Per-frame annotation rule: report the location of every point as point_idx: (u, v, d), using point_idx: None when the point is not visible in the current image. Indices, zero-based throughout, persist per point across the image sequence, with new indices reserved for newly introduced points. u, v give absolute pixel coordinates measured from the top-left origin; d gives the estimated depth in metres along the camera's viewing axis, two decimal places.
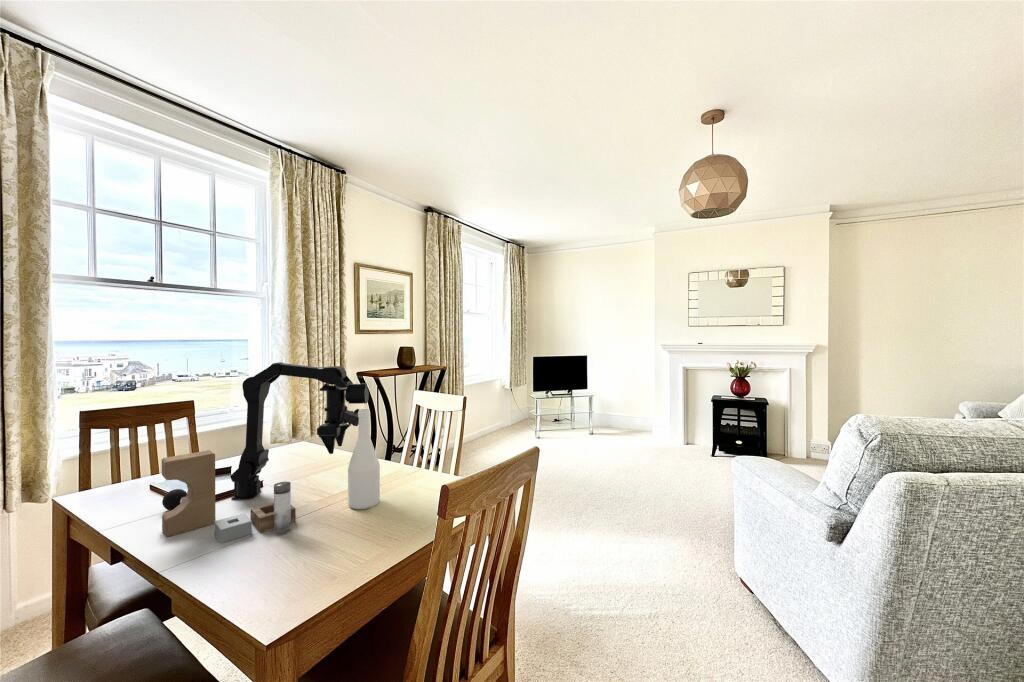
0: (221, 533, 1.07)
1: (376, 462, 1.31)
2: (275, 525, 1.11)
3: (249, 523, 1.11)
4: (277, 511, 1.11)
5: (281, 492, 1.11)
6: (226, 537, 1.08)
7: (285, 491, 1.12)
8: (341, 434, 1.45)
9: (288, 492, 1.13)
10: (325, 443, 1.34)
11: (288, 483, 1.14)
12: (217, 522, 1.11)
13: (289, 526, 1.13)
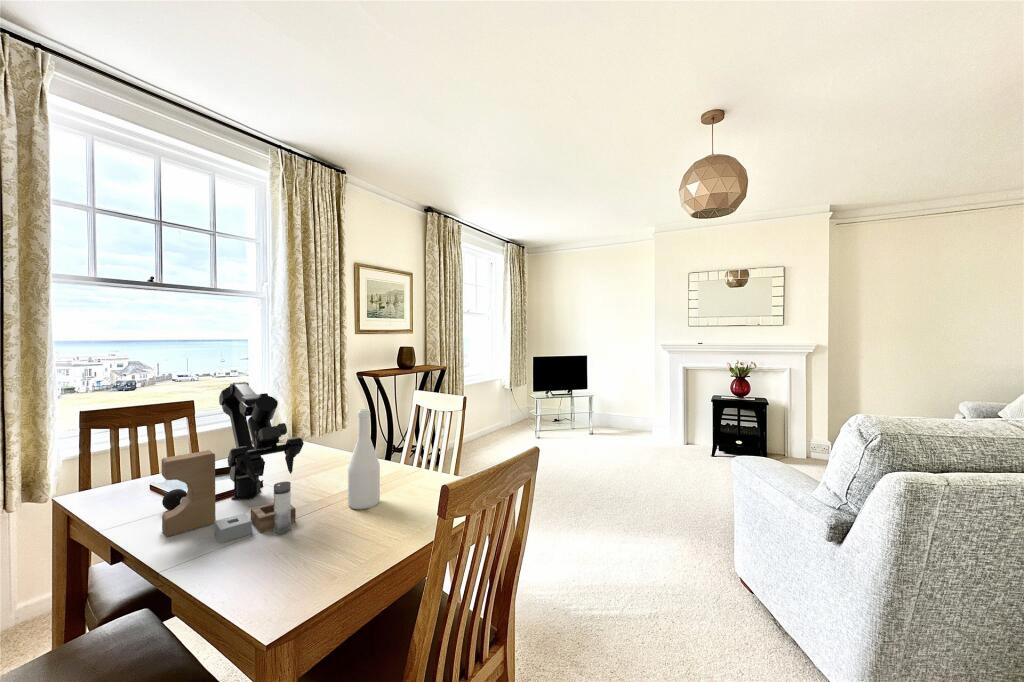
0: (221, 533, 1.07)
1: (376, 462, 1.31)
2: (275, 525, 1.11)
3: (249, 523, 1.11)
4: (277, 511, 1.11)
5: (281, 492, 1.11)
6: (226, 537, 1.08)
7: (285, 491, 1.12)
8: (288, 459, 1.23)
9: (288, 492, 1.13)
10: (246, 472, 1.16)
11: (288, 483, 1.14)
12: (217, 522, 1.11)
13: (289, 526, 1.13)
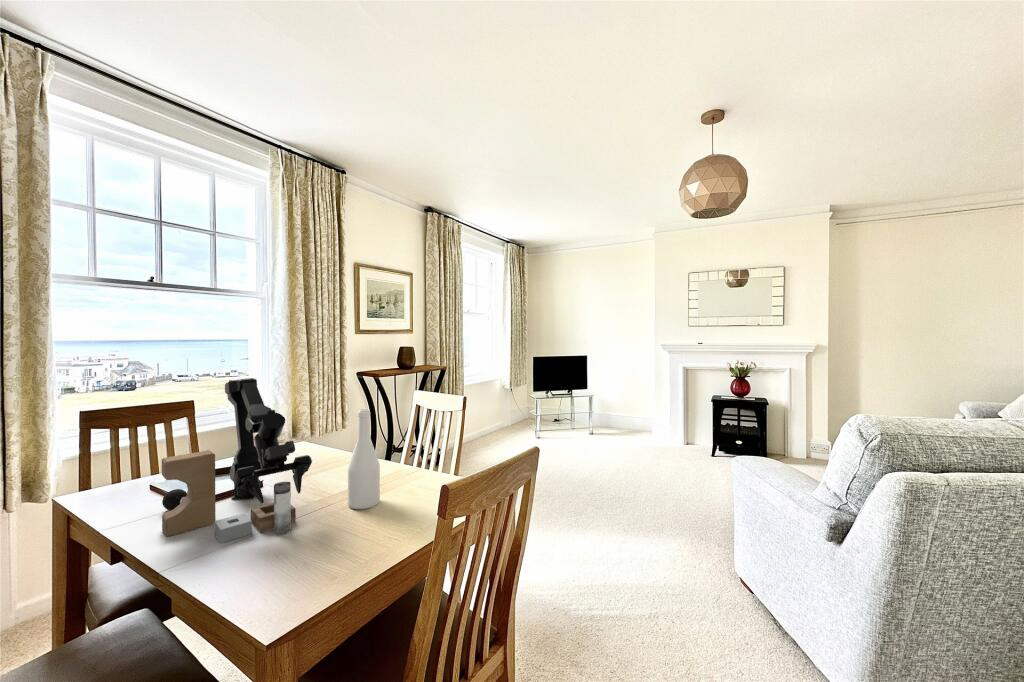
0: (221, 533, 1.07)
1: (376, 462, 1.31)
2: (275, 525, 1.11)
3: (249, 523, 1.11)
4: (277, 511, 1.11)
5: (281, 492, 1.11)
6: (226, 537, 1.08)
7: (285, 491, 1.12)
8: (296, 478, 1.19)
9: (288, 492, 1.13)
10: (252, 493, 1.12)
11: (288, 483, 1.14)
12: (217, 522, 1.11)
13: (289, 526, 1.13)
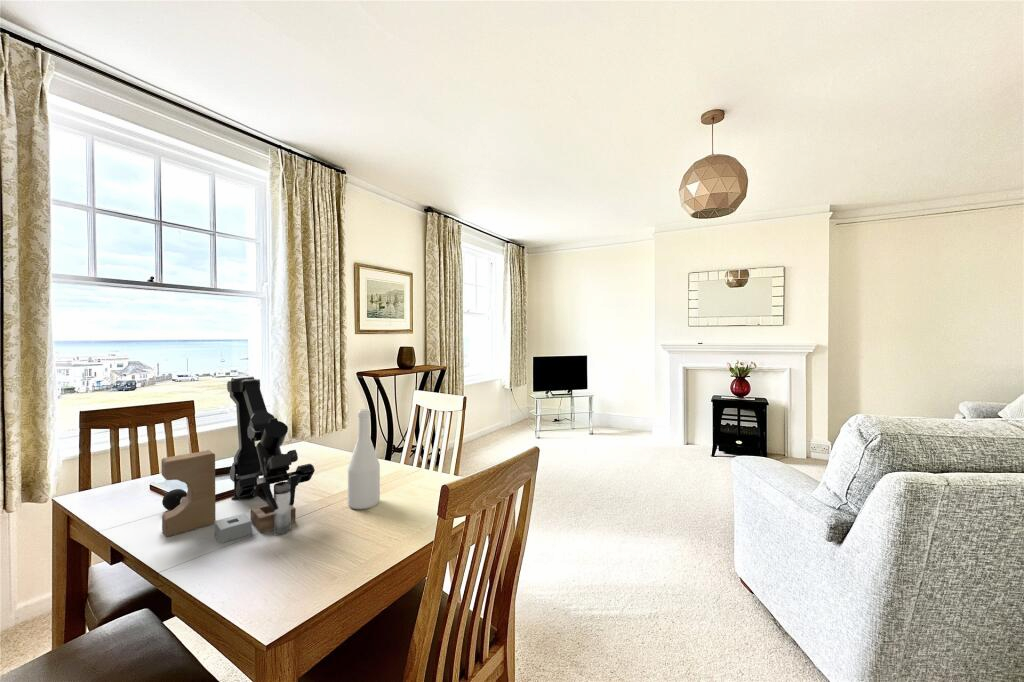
0: (221, 533, 1.07)
1: (376, 462, 1.31)
2: (275, 525, 1.11)
3: (249, 523, 1.11)
4: (277, 511, 1.11)
5: (281, 492, 1.11)
6: (226, 537, 1.08)
7: (285, 491, 1.12)
8: None
9: (288, 492, 1.13)
10: (265, 500, 1.12)
11: (288, 483, 1.14)
12: (217, 522, 1.11)
13: (289, 526, 1.13)
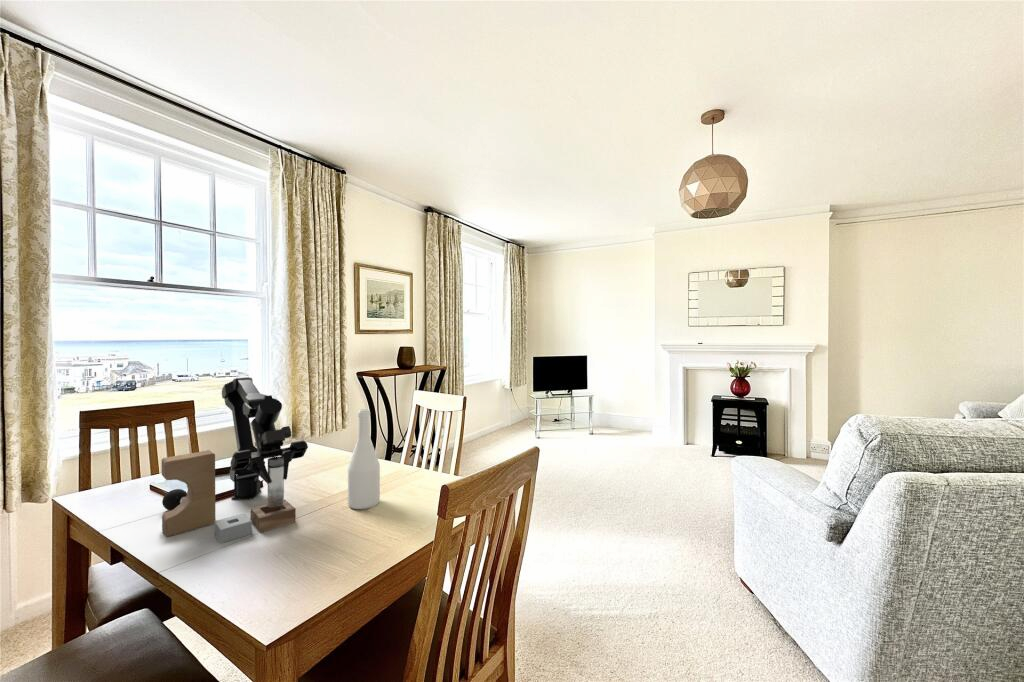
0: (221, 533, 1.07)
1: (376, 462, 1.31)
2: (269, 498, 1.15)
3: (249, 523, 1.11)
4: (270, 484, 1.15)
5: (275, 466, 1.15)
6: (226, 537, 1.08)
7: (279, 465, 1.15)
8: None
9: (281, 466, 1.16)
10: (259, 474, 1.16)
11: (282, 458, 1.17)
12: (217, 522, 1.11)
13: (282, 499, 1.17)
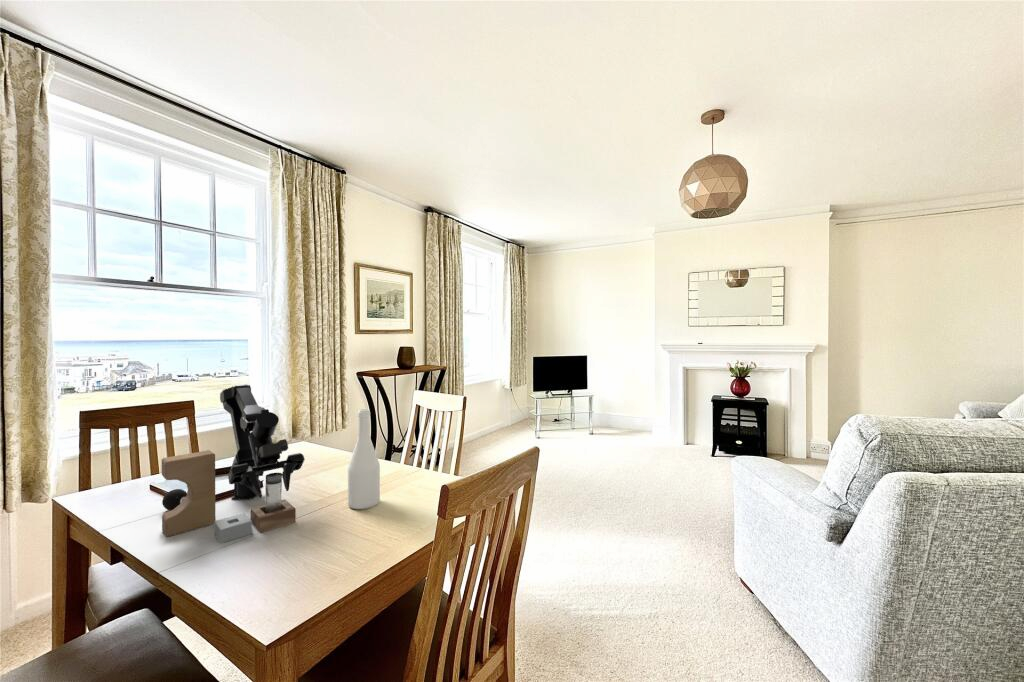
0: (221, 533, 1.07)
1: (376, 462, 1.31)
2: None
3: (249, 523, 1.11)
4: (268, 501, 1.17)
5: (272, 482, 1.17)
6: (226, 537, 1.08)
7: (276, 482, 1.17)
8: (285, 476, 1.22)
9: (279, 483, 1.18)
10: (251, 488, 1.17)
11: (279, 474, 1.19)
12: (217, 522, 1.11)
13: None
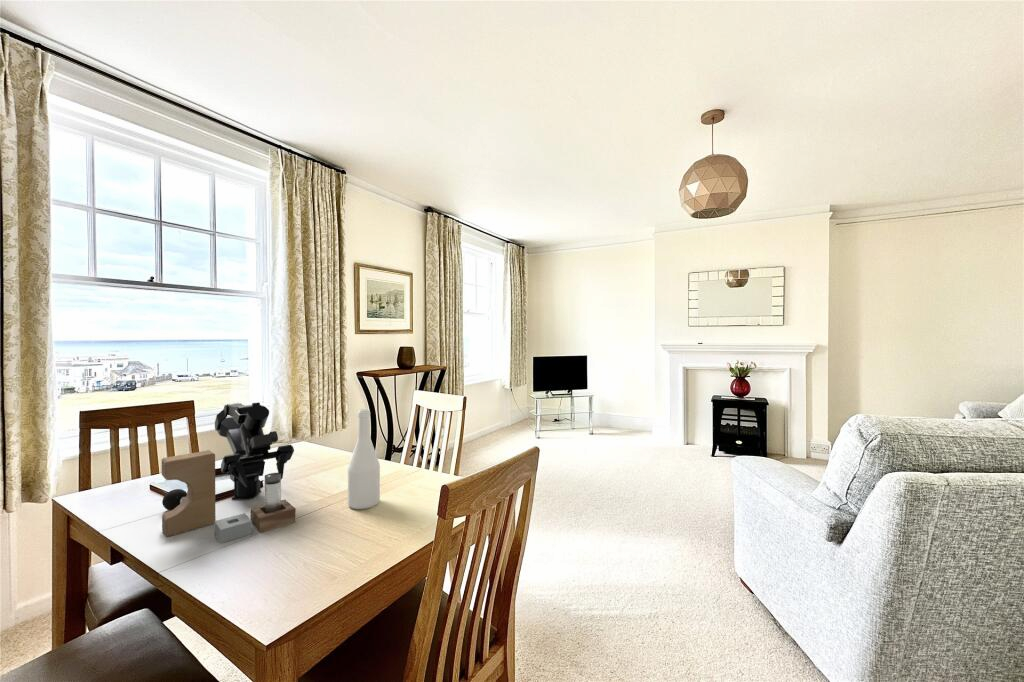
0: (221, 533, 1.07)
1: (376, 462, 1.31)
2: None
3: (249, 523, 1.11)
4: (267, 501, 1.17)
5: (271, 482, 1.17)
6: (226, 537, 1.08)
7: (275, 481, 1.17)
8: (279, 466, 1.29)
9: (278, 482, 1.18)
10: (238, 478, 1.22)
11: (278, 474, 1.19)
12: (217, 522, 1.11)
13: None
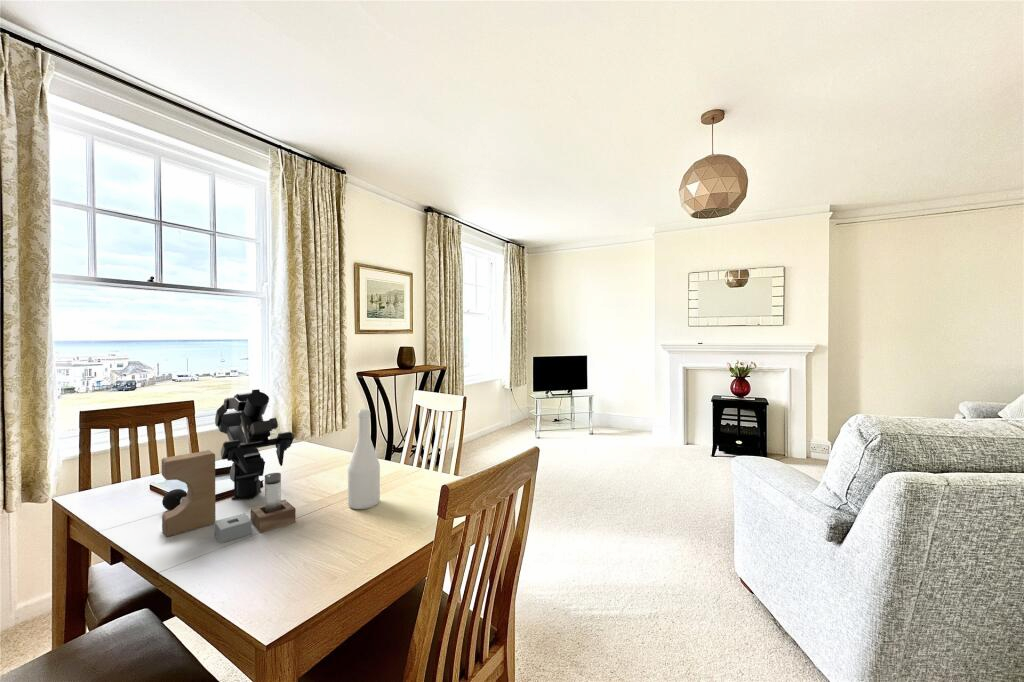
0: (221, 533, 1.07)
1: (376, 462, 1.31)
2: None
3: (249, 523, 1.11)
4: (267, 501, 1.17)
5: (271, 482, 1.17)
6: (226, 537, 1.08)
7: (275, 481, 1.17)
8: (279, 452, 1.29)
9: (278, 482, 1.18)
10: (238, 464, 1.22)
11: (278, 474, 1.19)
12: (217, 522, 1.11)
13: None
